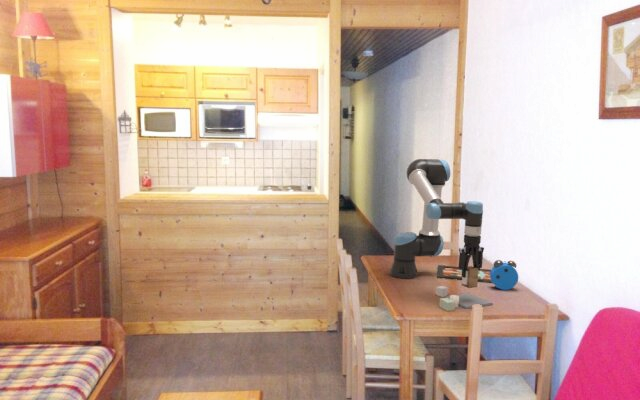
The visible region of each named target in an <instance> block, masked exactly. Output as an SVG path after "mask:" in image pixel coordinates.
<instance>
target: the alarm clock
mask: <svg viewBox="0 0 640 400" xmlns="http://www.w3.org/2000/svg"><path fill="white" fill-rule="evenodd" d="M515 268H517V263H516V262H515V261H514V260H508V261H502V260H501V259H497V260H494V262H493V267H492V268H491V269H490V270H491V271H490V279H491V281H492V282H493V283H492V284H493V285H494V288H497V289H500V290H503V291H508V290H511V289H513V288H514V287H515V286H516V285H517V284H518V281H519V273H518V271H517V269H515Z"/></svg>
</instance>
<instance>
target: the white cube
mask: <svg viewBox="0 0 640 400" xmlns="http://www.w3.org/2000/svg"><path fill="white" fill-rule="evenodd" d="M435 296H438V297H440V298H441V297H442V298H443V297H445V296H448V287H446V286H444V285H440V286H436V287H435Z"/></svg>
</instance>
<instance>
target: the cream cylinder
mask: <svg viewBox="0 0 640 400" xmlns="http://www.w3.org/2000/svg"><path fill="white" fill-rule="evenodd" d="M458 295H459V294H450V295H449V296H450V300H452V301H454V302H455V309H458V308H459V307H460V306H459V296H458Z"/></svg>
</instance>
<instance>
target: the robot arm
mask: <svg viewBox="0 0 640 400" xmlns="http://www.w3.org/2000/svg"><path fill="white" fill-rule="evenodd" d="M406 177H407V180H408V181H409V184H411V185H412V186H414V187H415V189H416V191H417V193H418V194H419V195H420V197H421V199H422V200H423V202H424V204H423V216H422V227H421V229H420V230H419V231H418V235H417V233H415V232H407V231H406V232H401V233H398V234H396V236H395V237H394V242H393V243H394V248H393V249H394V250H393V262H392V264H391V267H390V270H389V275H390V276H391V277H393V278H394V277H395V278H399V279H407V280H409V279H416V278H417V277H418V274H419V273H418V269H417V265H416V258H417V257H431V258H432V257H437V256H439V255H441V254H442V251H443V249H444V242H445V241H444V238H443V236H441V233H440V231H439V223H440V222H439V220H451V219H452V220H464V235H463V243H464V246H463V247H462V248H461V247H459V248H458V251H459V257H458V258H459V259H458V266H457V267H458V268H459V269H461V270H462V280H461V285H462V284H465V285H467V280H468V271H467V267H468V266H469V263H470V258H471V259H472V267H476V268H478V270H480V269H483V257H484V255H483V254H484V250H485V247H482V246H480V244H481V240H482V239H481V238H482V237H481V235H482V226H483V225H482V223H483V214H484V204H483V203H482V202H481V201H475V200H473V201H467V202H466V203H465V202H460V201H458V202H452V203H451V202H450V203H449V202H448V203H446V202H444V201H443V199H442V189H443V187H444V186H446V182H448V181H449V180H450V178H451V169H450V164H449V162H448V161H447V160H444V159H438V158H433V159H432V158H427V159H425V158H424V159H423V158H418V159H415V160H413V161H411V162H410V164H409V165H408V167H407V169H406ZM464 267H465V268H464Z"/></svg>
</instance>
